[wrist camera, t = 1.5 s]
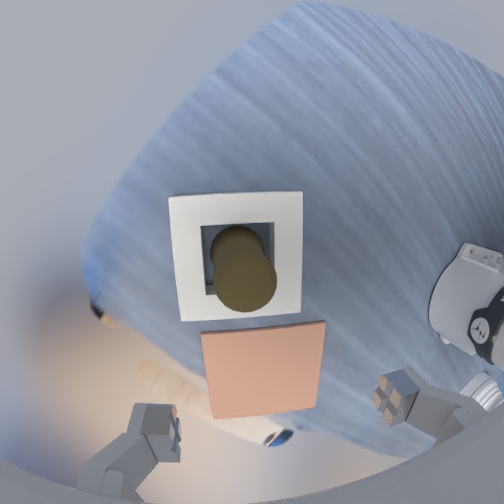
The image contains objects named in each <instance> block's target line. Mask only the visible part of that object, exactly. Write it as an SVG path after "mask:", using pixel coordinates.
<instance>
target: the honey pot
mask: <svg viewBox="0 0 504 504" xmlns="http://www.w3.org/2000/svg"><path fill="white" fill-rule="evenodd" d="M460 394H461V395H464V396H468V397H471V398H474V399H475V400H476V401H477V402H478V403H479V404H480V405H481V406H482V407H483V408H484V409H485V410H486V411H487V412H488V413H489V412H490V411H491V410H493V409H494V408H495V407H497V406H498V405H499V404H500V403H502V402H503V401H504V399H503V397H502V395H501V391H500V390H499V388H498V387H497V383H496V382H495V381H494V380H493V379H492V378H491V377H489V376H488V375H487V374H486V373H485V372H481V373H479V374H478V375H476V376H475V377H474V378H473V379H472V380H471V381H470V382H469V383H468V384H467V385H466V386H465V387H464V389H463V390H462V391H461V393H460Z"/></svg>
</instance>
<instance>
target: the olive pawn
mask: <svg viewBox="0 0 504 504" xmlns="http://www.w3.org/2000/svg"><path fill="white" fill-rule="evenodd" d="M210 257H211V260H212V262H213V265H214V267H215V273H214V276H213V284H214V290H215V293H216V295H217V297H218V299H219V300H220V301H221V302H222V303H223V304H224V305H225V306H226V307H228V308H229V309H231V310H233V311H237V312H242V313H245V312H253V311H256V310H259V309H261V308H262V307H264V306H265V305H266V304H268V303H269V302H270V300H271V299H272V297H273V296H274V294H275V291H276V288H277V274H276V271H275V268H274V266H273V264H272V263H271V262H270V261H269V259H268V258H267V257H266V256H264V250H263V245H262V242H261V239H260V238H259V237H258V235H257V234H256V233H255V232H254V231H252V230H251V229H249V228H247V227H243V226H230V227H228V228H225V229H223V230H222V231H220V232H219V233H218V234H217V235H216V236H215V238H214V239H213V241H212V244H211V248H210Z"/></svg>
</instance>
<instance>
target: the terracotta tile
mask: <svg viewBox="0 0 504 504" xmlns="http://www.w3.org/2000/svg"><path fill="white" fill-rule="evenodd" d="M325 326H326V322H325V321H319V322H311V323H303V324H295V325H286V326H277V327H267V328H256V329H244V330H231V331H216V332H201V342H202V349H203V357H204V363H205V370H206V376H207V383H208V388H209V395H210V401H211V406H212V412H213V417H214V419H224V418H238V417H249V416H258V415H267V414H274V413H281V412H288V411H294V410H300V409H306V408H311V407H315V403H316V397H317V390H318V384H319V377H320V369H321V362H322V353H323V345H324V336H325Z"/></svg>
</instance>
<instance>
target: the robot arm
mask: <svg viewBox="0 0 504 504" xmlns="http://www.w3.org/2000/svg"><path fill="white" fill-rule="evenodd" d="M429 320H430V324H431V326H432V328H433V329H434V330H435V331H436V332H437V333H439V335H440V339H441V341H442V342H443V343H444V344H448V343H450V342H451V343H453V344H454V345H456V346H457V347H459V348H460V349H462V350H464V351H465V352H467V353H469V354H470V355H474V354H476V353H477V354H478V355H479V356H480V357H481V358H482V359H483V360H484V361H485V362H488V363H489V364H491V365H496V366H498V367H499V368H500V369H501V370H503V371H504V258H503V255H502V254H501V253H499V252H496V251H493V250H490V249H487V248H484V247H481V246H477V245H474V244H471V243H467V242H465V243H464V244H463V245H462V247H461V248H460V250H459V252H458V254H457V256H456V258H455V259H454V260H453V261H452V263H451V264H450V265H449V266H448V267H447V268H446V269H445V271H444V272H443V274H442V275H441V277H440V279H439V280H438V282H437V284H436V287H435V289H434V292H433V295H432V298H431V302H430V308H429ZM377 384H378V385H379V386H378V388H377V389H376V390H375V392H374V395H373V400H374V404H375V407H376V408H377V410H378V411H380V412H383V416H382V417H383V419H384V420H385V422H386V423H387V425H388V426H389V427H391V426H394V425H396V424H399V423H402V422H405V421H406V423H408V424H410V425H412V426H414V427H415V428H417V429H419V430H421V431H423V432H425V433H427V434H429V435H431V436H433V437H435V438H437V439H436V441H435V442H434V444H433V445H432V448H431V449H430V450H428V451H426V452H424V453H422V454H420V455H418V456H416V457H414V458H412V459H410V460H408V461H406V462H403V463H401V464H399V465H397V466H394V467H392V468H389V469H387V470H385V471H382V472H380V473H377V474H374V475H372V476H369V477H366V478H364V479H360V480H357V481H354V482H351V483H348V484H345V485H342V486H338V487H335V488H331V489H327V490H324V491H320V492H316V493H311V494H307V495H302V496H297V497H292V498H287V499H281V500H275V501H268V502H260V503H252V504H504V401H503V402H502V403H500V404H499V405H498V406H497V407H495V408H494V409H493V410H491V411H490V412H489V413H488V412H487V411H486V410H485V409H484V408H483V407H482V406H481V405H480V404H479V403H478V402H477V401H476V400H475V399H474V398H471V397H468V396H464V395H461V394H458V393H455V392H451V391H448V390H445V389H442V388H439V387H435V386H429V385H428V384H427V383H426V382H425V381H424V380H423V379H422V378H421V377H420V375H419V374H418V373H417V372H416V371H415V370H414V369H413V368H411V367H407V368H404V369H401V370H398V371H395V372H391V373H388V374H385V375H382V376H380V377H379V378H378V382H377ZM176 413H177V411H176V407H175V405H172V404H150V403H148V404H146V403H135V405H134V406H133V410H132V414H131V418H130V421H129V425H128V429H127V433H122V434H121V435H119V436H118V437H117V438H116V439H114V440H113V441H112V442H111V443H109V444H108V445H107V446H106V447H104V448H103V449H102V450H101V451H99V452H98V453H97V454H95V455H94V456H93V457H92V458H90V459H89V460H87V461H86V462H85V463H83V465H82V468H81V472H80V475H79V479H78V482H77V485H76V489H74V488H71V487H67V486H64V485H61V484H58V483H55V482H52V481H49V480H46V479H43V478H41V477H38V476H36V475H33V474H30V473H28V472H26V471H24V470H21V469H19V468H16V467H14V466H12V465H10V464H8V463H6V462H4V461H0V504H152V503H145V502H144V501H143V499H142V498H141V497H140V496H139V495H138V493H137V492H136V491H135V490H136V489H137V487H138V486H139V485H140V484H141V483H142V481H143V480H144V479H145V478H146V477H147V475H148V474H149V473H150V472H151V471H152V470H153V469H154V468H155V466H156V465H157V464H158V462H180V451H181V449H180V446H179V442H180V441H181V425H180V421H179V418H177V417H176Z"/></svg>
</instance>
